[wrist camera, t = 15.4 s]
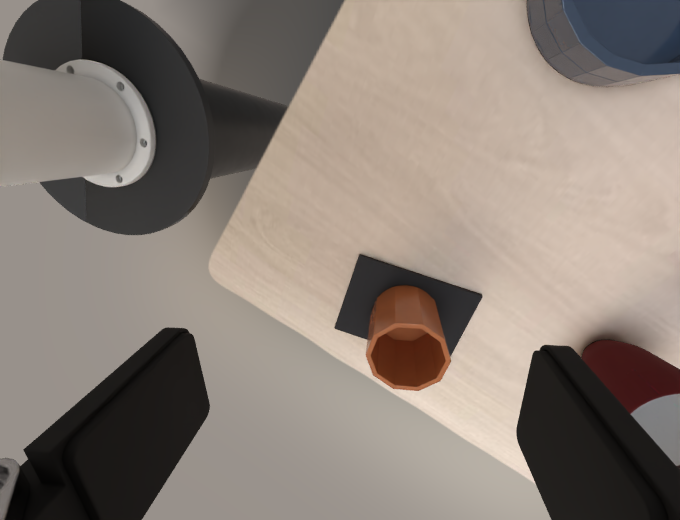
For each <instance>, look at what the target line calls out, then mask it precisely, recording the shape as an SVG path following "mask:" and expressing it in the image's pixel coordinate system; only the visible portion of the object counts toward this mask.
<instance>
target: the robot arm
mask: <svg viewBox="0 0 680 520" xmlns="http://www.w3.org/2000/svg"><path fill="white" fill-rule="evenodd" d="M155 152H156V130H155V125H154V121H153V117H152V115H151V112H150V110H149V107H148V105H147V103H146V102H145V100H144V98H143V96H142V95H141V93H140V92H139V91H138V89H137V88H136V87H135V86H134V84H133V83H132V82H131V81H130V80H129V79H127V78H126V77H125V76H124V75H123V74H121V73H120V72H119V71H117V70H116V69H114V68H112V67H110V66H107V65H105V64H103V63H99V62H95V61H91V60H81V59H79V60H73V61H69V62H67V63H65V64H63V65H61V66H60V67H58V68H57V69H56V70H50V69H45V68H40V67H35V66H30V65H25V64H20V63H15V62H10V61H5V60H0V187H3V186H11V185H19V184H27V183H35V182H43V181H52V180H60V179H68V178H76V177H83V178H85V179H86V180H88V181H90V182H92V183H95V184H97V185H101V186H105V187H120V186H126V185H129V184H132V183H135V182H136V181H138V180H139V179H141V178H142V177H143V176H144V175H145V174H146V173H147V172H148V170H149V168H150V166H151V165H152V163H153V159H154V156H155ZM209 408H210V404H209V399H208V395H207V391H206V387H205V382H204V378H203V374H202V370H201V365H200V361H199V357H198V353H197V348H196V344H195V340H194V337H193V335H192V334H190V333H189V331H188V330H187V329H184V328H164V329H162V330H161V331H160V332H159V333H158V334H156V336H154V337H153V338H152V339H151V340H150V341H148V342H147V343H146V344H145V345H144V346H143V347H141V348H140V349H139V350H138V351H137V352H136V353H135V354H133V355H132V356H131V357H130V358H129V359H128V360H127V361H125V362H124V363H123V364H122V365H121V366H120V367H118V368H117V369H116V370H115V371H114V372H113V373H111V374H110V375H109V376H108V377H107V378H106V379H105V380H103V381H102V382H101V383H100V384H99V385H98V386H96V387H95V388H94V389H93V390H92V391H91V392H90V393H88V394H87V395H86V396H85V397H84V398H83V399H81V400H80V401H79V402H78V403H77V404H76V405H75V406H74V407H72V408H71V409H70V410H69V411H68V412H66V413H65V414H64V415H63V416H62V417H61V418H60V419H58V420H57V421H56V422H55V423H54V424H53V425H52V426H50V427H49V428H48V429H47V430H46V431H45V432H44V433H42V434H41V435H40V436H39V437H38V438H36V440H34V441H33V442H32V443H31V444H29V445H28V446H27V447H26V448H25V449H24V452H25V454H26V456H27V457H28V460H27V461H26V462H25V463H24V464H22V465H21V466H19V464H18V463H17V462H16V460H13V459H9V458H2V459H0V520H142V518H143V517H144V515H145V514H146V512H147V511H148V509H149V507H150V506H151V504H152V503H153V501H154V500H155V498H156V496H157V495H158V493H159V492H160V490H161V489H162V487H163V485H164V484H165V482H166V480H167V479H168V477H169V476H170V474H171V473H172V471H173V470H174V468H175V466H176V465H177V463H178V462H179V460H180V459H181V457H182V455H183V454H184V452H185V451H186V449H187V447H188V446H189V444H190V443H191V441H192V440H193V438H194V436H195V435H196V433H197V432H198V430H199V429H200V427H201V426H202V424H203V422H204V421H205V419H206V417H207V415H208V413H209ZM516 431H517V440H518V443H519V446H520V448H521V451H522V453H523V455H524V457H525V460H526V462H527V464H528V467H529V469H530V471H531V474H532V476H533V478H534V481H535V483H536V485H537V487H538V490H539V492H540V494H541V496H542V499H543V501H544V504H545V506H546V508H547V510H548V512H549V515H550V517H551V519H552V520H680V470H679V468H678V467H677V466H676V465H675V464H674V463H673V462H672V461H671V459H670V458H669V457H668V456H667V455H666V454H665V453H664V451H663V450H662V449H661V448H660V447H659V446H658V445H657V444H656V442H655V441H654V440H653V439H652V438H651V437H650V436H649V434H648V433H647V432H646V431H645V430H644V429H643V428H642V427H641V425H640V424H639V423H638V422H637V421H636V420H635V419H634V417H633V416H632V415H631V414H630V413H629V412H628V411H627V410H626V408H625V407H624V406H623V405H622V404H621V403H620V402H619V400H618V399H617V398H616V397H615V396H614V395H613V394H612V393H611V391H610V390H609V389H608V388H607V387H606V386H605V385H604V383H603V382H602V381H601V380H600V379H599V378H598V377H597V376H596V374H595V373H594V372H593V371H592V370H591V369H590V368H589V366H588V365H587V364H586V363H585V362H584V361H583V360H582V359H581V357H580V356H579V355H578V354H577V353H576V352H575V351H574V349H572V348H571V347H569V346H554V345H544V346H542V347H541V348H540V351H534V353H533V355H532V360H531V364H530V369H529V374H528V378H527V383H526V388H525V392H524V397H523V401H522V406H521V411H520V415H519V420H518V424H517V430H516Z"/></svg>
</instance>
